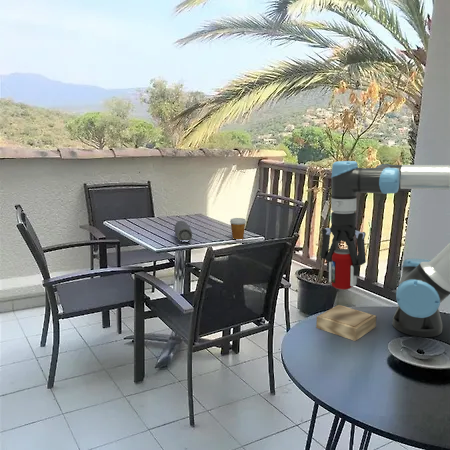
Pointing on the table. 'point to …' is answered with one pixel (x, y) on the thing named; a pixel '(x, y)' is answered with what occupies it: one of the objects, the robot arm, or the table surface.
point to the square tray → (346, 322)
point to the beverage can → (341, 269)
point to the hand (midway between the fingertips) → (342, 282)
